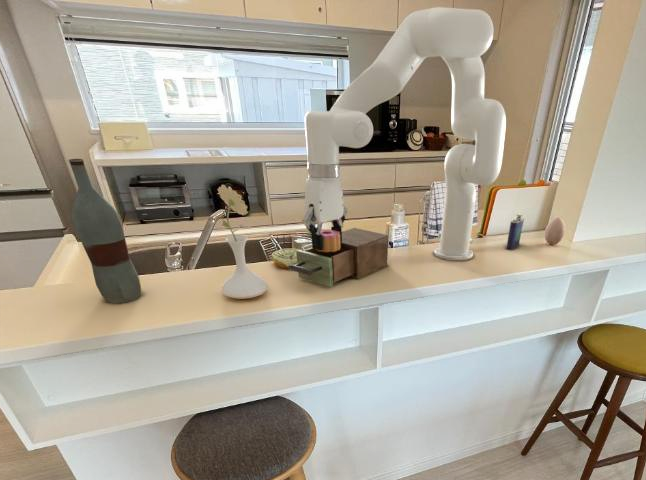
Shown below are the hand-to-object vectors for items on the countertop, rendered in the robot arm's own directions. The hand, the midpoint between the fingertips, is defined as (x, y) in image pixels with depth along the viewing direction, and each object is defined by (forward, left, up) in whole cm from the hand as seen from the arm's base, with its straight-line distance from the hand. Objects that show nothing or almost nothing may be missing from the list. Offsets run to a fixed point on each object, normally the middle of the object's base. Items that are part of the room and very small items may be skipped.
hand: (327, 245), depth 111 cm
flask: (-64, +29, -9) cm, 71 cm away
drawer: (+2, 0, -8) cm, 9 cm away
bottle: (+41, -31, -9) cm, 52 cm away
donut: (0, 0, -1) cm, 1 cm away
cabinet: (-12, 0, -9) cm, 15 cm away
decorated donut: (-2, -17, -9) cm, 20 cm away
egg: (-76, +39, -9) cm, 86 cm away
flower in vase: (+21, -10, -9) cm, 25 cm away
